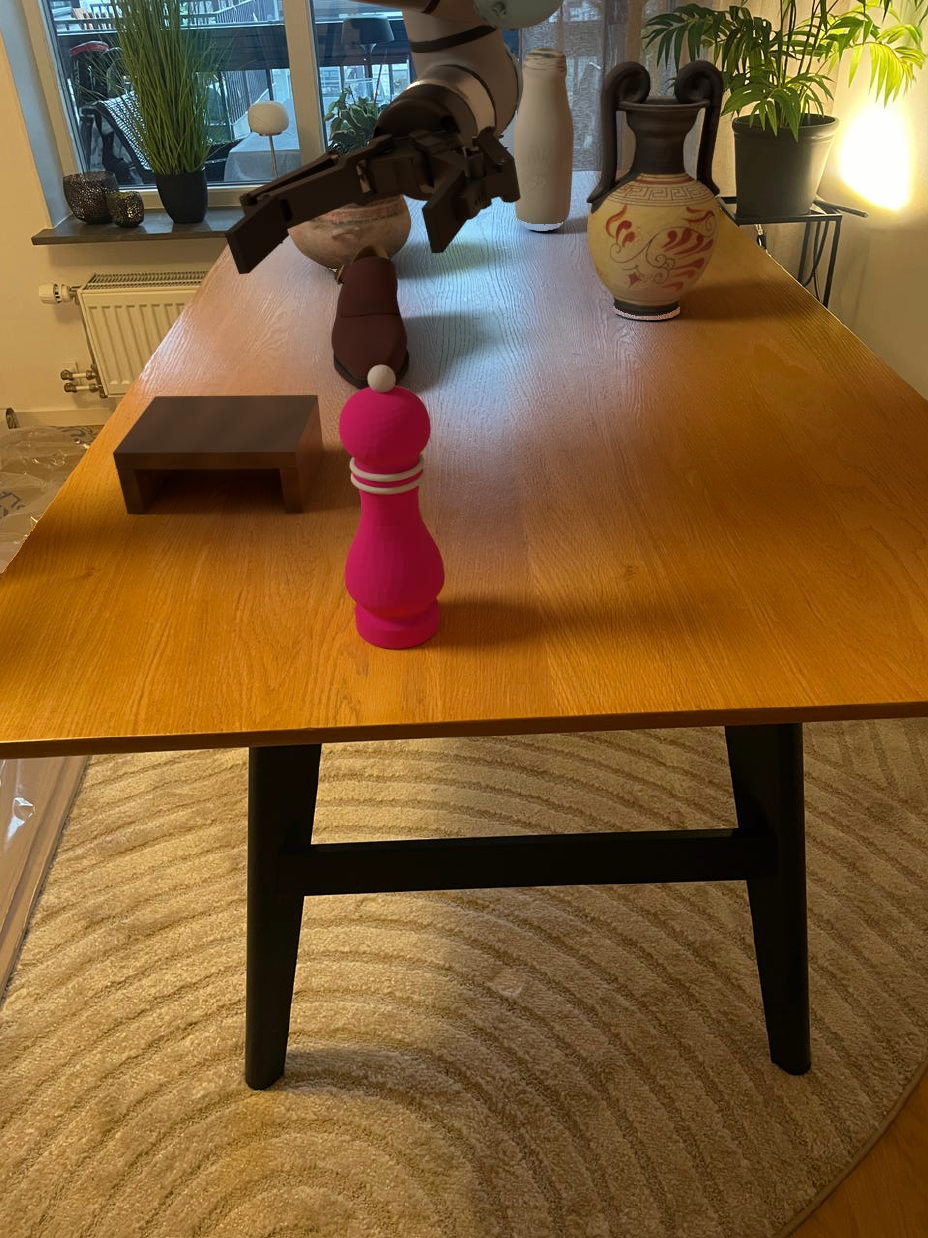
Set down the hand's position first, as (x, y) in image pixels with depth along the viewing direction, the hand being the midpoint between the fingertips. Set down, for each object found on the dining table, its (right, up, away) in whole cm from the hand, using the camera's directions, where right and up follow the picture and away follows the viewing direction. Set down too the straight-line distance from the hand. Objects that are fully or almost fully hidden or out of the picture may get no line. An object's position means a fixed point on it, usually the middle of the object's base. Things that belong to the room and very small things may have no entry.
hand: (330, 242), depth 60 cm
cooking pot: (-9, +32, +93) cm, 99 cm away
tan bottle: (+22, +45, +112) cm, 123 cm away
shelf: (-14, -10, +33) cm, 37 cm away
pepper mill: (+3, -24, +13) cm, 27 cm away
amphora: (+33, +19, +73) cm, 83 cm away
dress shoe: (-3, +9, +60) cm, 61 cm away
